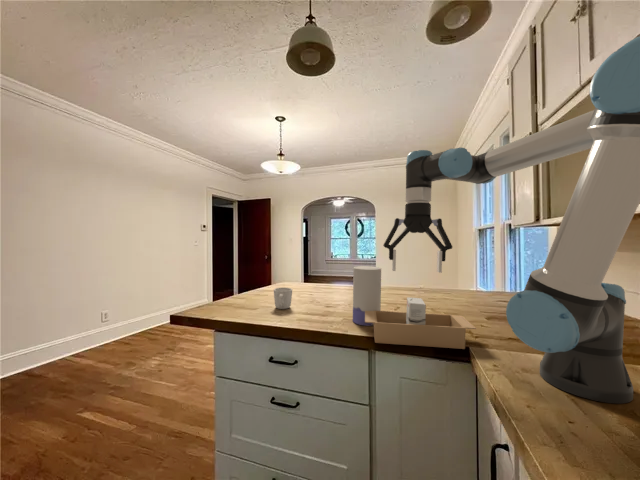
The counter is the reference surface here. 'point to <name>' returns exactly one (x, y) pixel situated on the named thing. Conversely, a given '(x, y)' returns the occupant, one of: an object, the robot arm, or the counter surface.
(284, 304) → the cup
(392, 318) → the carton
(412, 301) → the ink box
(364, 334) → the counter surface
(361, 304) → the container
